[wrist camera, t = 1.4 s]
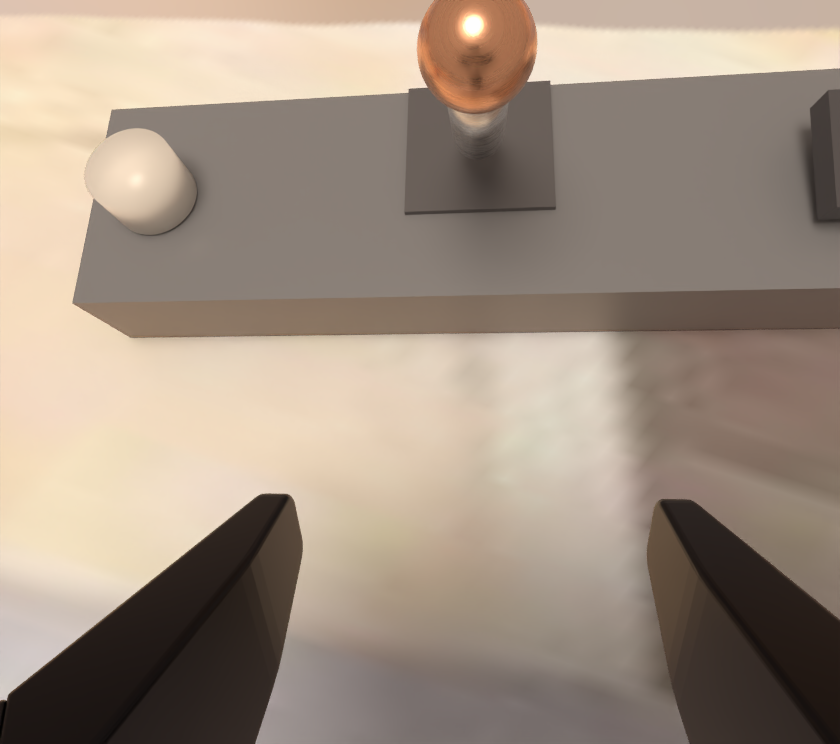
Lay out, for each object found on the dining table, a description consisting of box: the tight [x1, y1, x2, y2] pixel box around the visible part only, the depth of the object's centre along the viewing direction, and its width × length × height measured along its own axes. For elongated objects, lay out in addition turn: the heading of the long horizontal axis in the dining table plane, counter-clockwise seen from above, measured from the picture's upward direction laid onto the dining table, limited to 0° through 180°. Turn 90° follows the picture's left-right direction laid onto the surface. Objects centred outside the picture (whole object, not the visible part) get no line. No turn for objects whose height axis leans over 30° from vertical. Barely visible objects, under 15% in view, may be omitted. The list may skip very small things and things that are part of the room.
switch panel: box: [73, 69, 840, 337], centre depth 22 cm, size 8×28×4 cm, turn 89°
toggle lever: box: [417, 0, 537, 160], centre depth 15 cm, size 2×2×9 cm
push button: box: [84, 128, 197, 235], centre depth 20 cm, size 3×3×2 cm
